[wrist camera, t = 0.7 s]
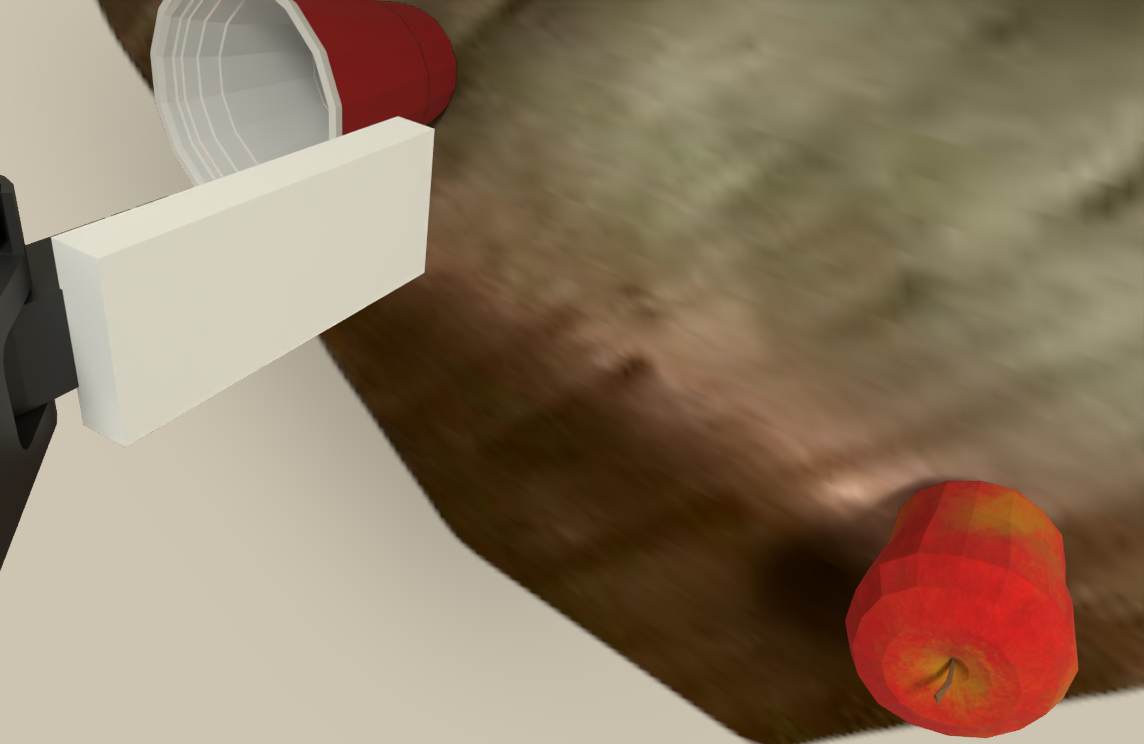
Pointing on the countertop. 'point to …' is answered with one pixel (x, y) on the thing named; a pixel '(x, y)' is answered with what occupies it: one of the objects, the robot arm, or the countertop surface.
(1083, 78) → the countertop surface
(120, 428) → the robot arm
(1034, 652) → the apple
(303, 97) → the plastic cup
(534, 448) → the countertop surface
